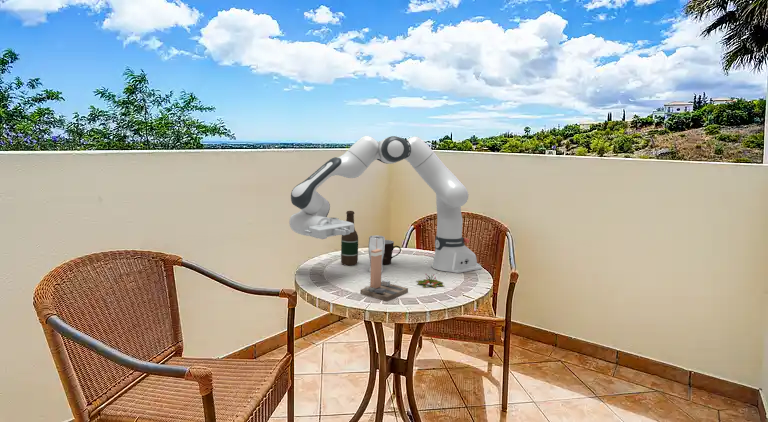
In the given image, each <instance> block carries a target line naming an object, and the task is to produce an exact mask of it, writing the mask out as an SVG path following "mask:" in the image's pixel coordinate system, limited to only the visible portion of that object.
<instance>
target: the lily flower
mask: <svg viewBox="0 0 768 422" xmlns="http://www.w3.org/2000/svg"><path fill="white" fill-rule="evenodd" d="M433 277H434V278H433ZM416 285H422V288H429V287H430V288H431V287H433V288H434V289H437V287H445V285H444V282H442V281H440V280H437V279H436V276H435V274H431V277H430V275H427V273H425V279H422V280H417V283H416Z"/></svg>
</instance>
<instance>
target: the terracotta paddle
mask: <svg viewBox="0 0 768 422" xmlns="http://www.w3.org/2000/svg"><path fill="white" fill-rule="evenodd" d="M381 264H382V250H381V249H376V250H372V251H371V272H370V278H369V279H370V282H369V283H370V285H369V286H370V287H371V288H372V287H373V288H379V287H381V282H382V272H381Z"/></svg>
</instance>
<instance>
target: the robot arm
mask: <svg viewBox="0 0 768 422" xmlns="http://www.w3.org/2000/svg"><path fill="white" fill-rule="evenodd" d="M376 160H377V161H378V162H381V163H383V164H390V165H391V164H393V165H394V164H395V163H398V162H400V161H403V160H405V161H407V162H408V163H409V164H410V166H411V167H412V168H413V169H414V171H415V172H416V173H417V174H418V175H419V176H420V178H421V179H422V180H423V181H424V182H425V183H426V184H427V185H428V186H429V187H430V188H431V190H432V191H433V192H434V193H435V199H436V201H435V203H436V218H437V223H436V235H435V239H434V240H435V241H434V242H435V244H434V248H435V249H434V250H435V251H434V256H433V260H432V264H431V268H432V269H434V270H438V271H442V272H450V273H451V272H452V273H454V274H455V273H456V274H461V273H466V272H467V273H468V272H471V271H477V270H482V265H481V264H480V263H478V261H477V255H476V254H475V252H473V251H472V250H471V249H470V248H469V247H468V246H467V245H465V244H469V243H470V239H469V238H467V237H465V238H464V237H463V223H464V222H463V221H464V219H463V215H462V207H463V206H465V204H466V203H468V200H469V192H468V189H467V187H466V186H465V185H464V184H463V183H462V182H461V181H460V180H459V179H458V177H457V176H456V175H455V174H454V173H453V172H452V171H451V170H450V169H449V168H448V167H447V166H446V165H445V163H444V162H443V161H442V160H441V159H440V158H439V157H438V156H437V154H436V153H435V151H433V149H432V148H431V147H430V146H429V145H428V144H427V142H425V141H424V140H422V138H420V137H419V136H411V137H409V138H407V139H404V138H402V137H400V136H397V135H396V136H394V135H392V136H391V135H390V136H388V137H385V138H383V139H381V140H380V141H379V140H376V139H375V138H374V137H372V136H370V135H364V136H362V137H361V138H359V139H358V140H356V141H355V142H354V143H353V144H352V145H350V147H349V148H348V149H347V150H346V151H345V152H344V153H343V154H342V155H340V156H338V157H335V156H334V157H333V158H330V159H329V160H327V161H326V162H324V164H323V165H321V166H320V167H319V168H318V169H316V170H315V171H314V172H313V173H312V174H311V175H310V176H308V177H307V178H306V179H304V180H303V181H302V182H300V183H298V184H297V185H296V186H294V187H293V188H292V190H291V193H290V201H291V204H292V205H293V206H294V207H296V208H298V209H299V211H298V212H296V213H293V214H291V216H290V217H289V222H288V223H289V227H290V229H291V230H292V231H293V232H294V233H297V234H298V235H302V236H306V237H312V238H315V239H321V240H325V239H327V238H330V237H336V236H342V235H348V234H350V233H352V232H354V228H355V223H354V224H353V223H351V222H348V221H346V220H343V219H339V218H338V217H328V215H329V213H330V208H331V204H330V202H329V201H328V200H327V198H325V197H324V196H323V195H321V193H319V192H318V191H317V189H318V188H319V187H321V186H322V185H323V184H324V183H325V182H326V181H327V180H329V179H330V178H332V177H334V176H340V177H344V178H348V179H357V178H359V177H360V176H362V175H363V174H364V172H365V171H366V170H367V169H368V168H369V167H370V166H371V164H373V162H374V161H376Z"/></svg>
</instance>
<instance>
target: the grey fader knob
mask: <svg viewBox="0 0 768 422" xmlns="http://www.w3.org/2000/svg"><path fill="white" fill-rule="evenodd" d="M381 282H382V285H384V286H389V285H390V284H391V281H390V280H389V279H388V280H387V279H382V280H381Z"/></svg>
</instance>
